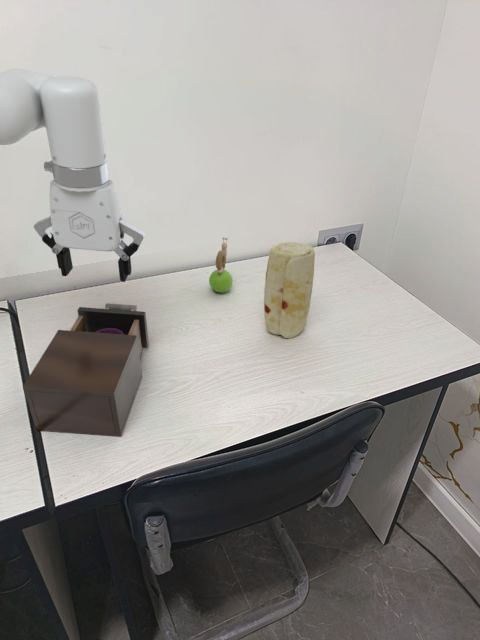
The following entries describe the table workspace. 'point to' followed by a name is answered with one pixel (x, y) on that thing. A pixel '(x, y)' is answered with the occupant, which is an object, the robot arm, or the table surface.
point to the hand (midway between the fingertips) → (96, 275)
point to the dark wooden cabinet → (85, 383)
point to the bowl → (110, 331)
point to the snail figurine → (221, 272)
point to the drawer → (114, 321)
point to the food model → (288, 288)
